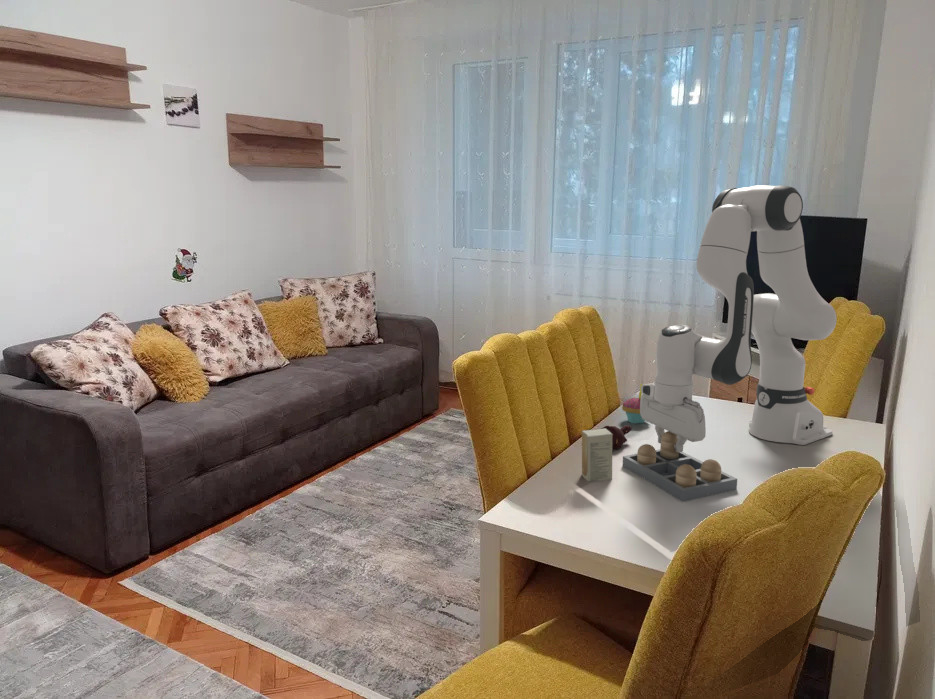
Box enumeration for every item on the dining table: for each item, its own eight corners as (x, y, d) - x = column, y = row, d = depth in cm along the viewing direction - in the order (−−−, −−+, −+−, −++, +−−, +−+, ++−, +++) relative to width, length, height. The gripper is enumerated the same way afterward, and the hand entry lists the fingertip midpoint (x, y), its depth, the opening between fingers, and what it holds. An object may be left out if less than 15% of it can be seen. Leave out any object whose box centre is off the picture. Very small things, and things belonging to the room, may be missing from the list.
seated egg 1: (647, 464, 165) (649, 440, 164) (659, 470, 162) (660, 446, 160) (633, 467, 164) (634, 443, 162) (644, 473, 160) (645, 449, 159)
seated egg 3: (710, 480, 155) (712, 455, 154) (724, 487, 151) (726, 461, 150) (695, 483, 154) (697, 458, 152) (709, 491, 150) (710, 465, 148)
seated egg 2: (686, 485, 153) (687, 460, 151) (699, 493, 149) (701, 466, 148) (670, 489, 151) (672, 463, 150) (684, 496, 147) (685, 470, 146)
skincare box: (605, 476, 161) (607, 427, 159) (612, 483, 157) (614, 433, 155) (580, 478, 160) (581, 429, 158) (586, 485, 156) (587, 435, 154)
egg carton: (671, 459, 171) (672, 446, 170) (736, 493, 151) (737, 478, 150) (622, 469, 165) (622, 456, 164) (682, 505, 145) (683, 490, 144)
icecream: (605, 437, 169) (642, 430, 178) (584, 423, 174) (622, 416, 183) (598, 461, 171) (635, 452, 181) (577, 447, 176) (614, 439, 186)
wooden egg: (670, 451, 168) (672, 427, 166) (682, 457, 164) (684, 433, 162) (656, 453, 166) (657, 430, 165) (667, 460, 162) (669, 435, 161)
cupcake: (632, 415, 207) (634, 377, 204) (656, 421, 200) (658, 382, 198) (616, 421, 201) (617, 382, 198) (640, 428, 195) (642, 388, 192)
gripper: (714, 402, 153) (710, 459, 156) (657, 381, 172) (654, 432, 175) (692, 406, 151) (688, 464, 154) (636, 384, 169) (634, 436, 172)
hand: (670, 447), depth 164 cm, fingers closed on wooden egg, 4 cm apart
